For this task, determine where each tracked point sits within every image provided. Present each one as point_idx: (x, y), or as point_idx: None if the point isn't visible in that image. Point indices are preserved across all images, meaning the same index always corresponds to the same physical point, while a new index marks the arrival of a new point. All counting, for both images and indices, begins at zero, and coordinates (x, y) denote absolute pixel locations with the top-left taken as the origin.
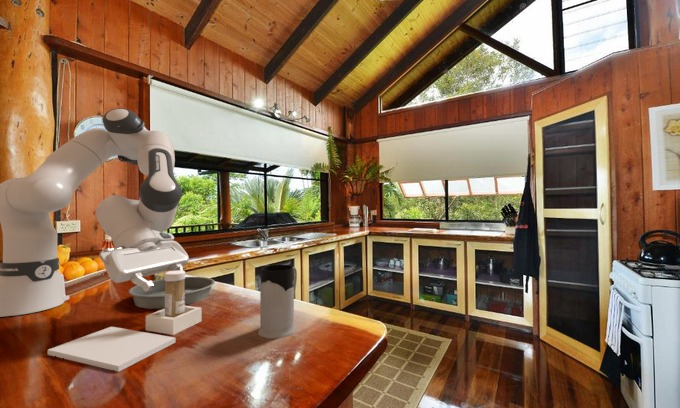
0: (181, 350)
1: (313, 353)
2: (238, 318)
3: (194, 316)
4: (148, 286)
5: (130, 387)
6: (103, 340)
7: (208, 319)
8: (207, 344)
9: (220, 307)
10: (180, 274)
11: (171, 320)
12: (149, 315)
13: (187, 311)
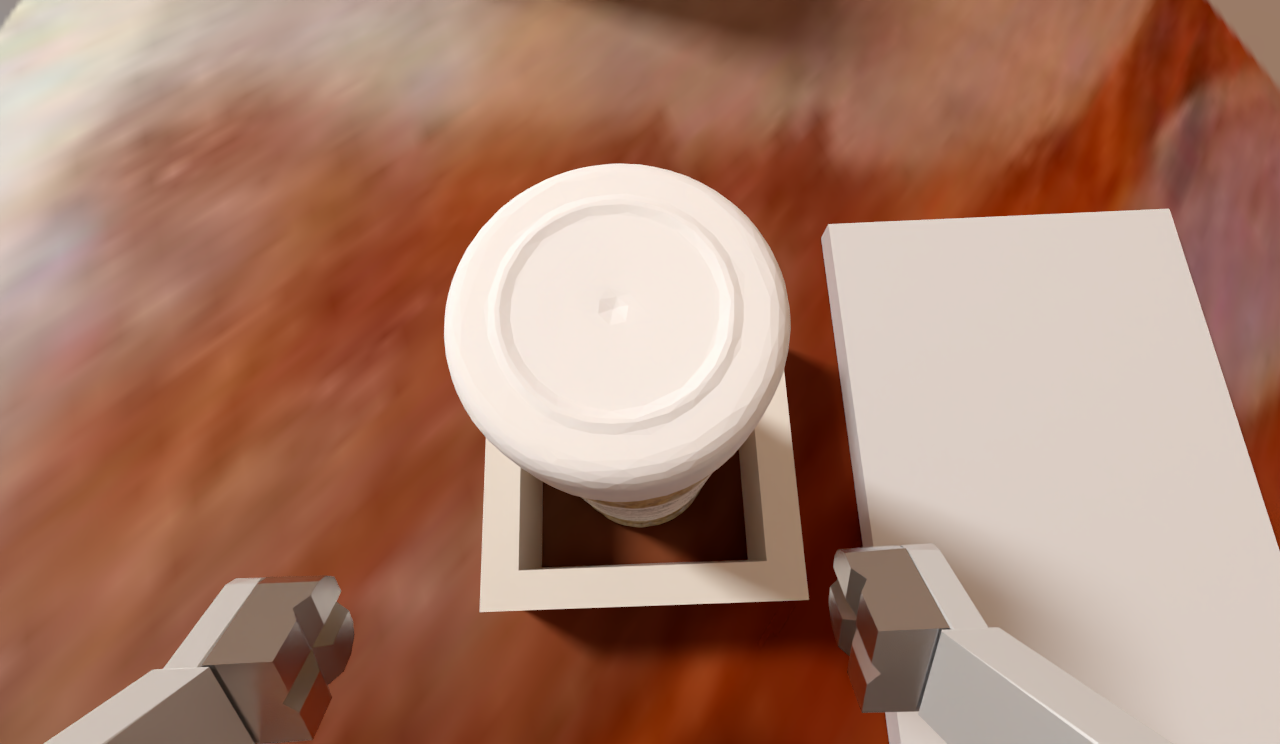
0: (869, 139)
1: None
2: (404, 162)
3: None
4: (936, 547)
5: (1167, 75)
6: (1086, 632)
7: None
8: (764, 78)
9: (219, 435)
10: (644, 169)
11: None
12: (791, 570)
13: None
